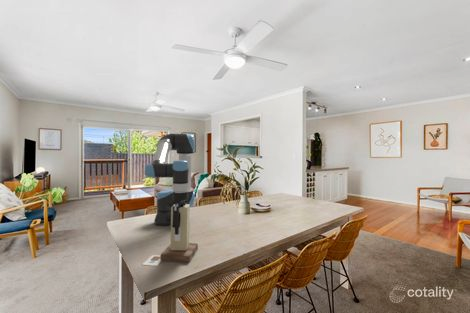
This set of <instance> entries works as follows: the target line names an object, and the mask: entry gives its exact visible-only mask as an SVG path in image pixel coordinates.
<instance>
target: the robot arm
mask: <svg viewBox="0 0 470 313" xmlns="http://www.w3.org/2000/svg"><path fill="white" fill-rule="evenodd" d="M195 144H196V143H195V136H194V135H193V134H190V133H169V134H168V133H167V134H165V135H163V136H162V137H161V138H159V140H158V141H157V142H156V150H155V154H154V155H153V158H152V162H150V163H146V164H145V167H144V175H145V177H146V178H149V179H150V178H152V179H155V178H157V179H159V178H172V185H171V187H172V189H165V190H160V191H158V193H157V196H156V197H157V198H156V214H155V217H154V225H156V226H160V227H161V226H162V227H166V226H171V207H172V206H173V205H174V204H175V206H173V224H172V227H173V228H174V241H180V213H179V208H180V207H184V206H185V205H186V204H189V205H190V208H192V207H193V206H194V203H195V197H196V191H195V190H194V188H193V187H192V155H193V154H194V151H196V145H195ZM171 151H176V154H177V155H178V159H177V160H173V161H172V163H168V162H167V161H168V158H169V153H170V152H171Z"/></svg>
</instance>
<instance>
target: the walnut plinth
mask: <svg viewBox="0 0 470 313" xmlns="http://www.w3.org/2000/svg"><path fill="white" fill-rule="evenodd" d="M198 245H199V244H198V243H194V242H193V243H192V242H191V243H190V242H189V246H188V248H187V250H171V243H170V244H169V245H168V246H167V247H166V248H165V249H164V250H163V251H162V252H161V254H160V255H159V256H160V260H161V262H173V263H188V264H189V263H191V261H192V260H193V257H194V256H195V254H196V253H197V251H198V250H199V248H198V247H199V246H198Z"/></svg>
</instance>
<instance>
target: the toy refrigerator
mask: <svg viewBox="0 0 470 313" xmlns="http://www.w3.org/2000/svg"><path fill="white" fill-rule="evenodd" d="M173 206H175V204H174V205H173ZM173 206H172V207H171V225H170V244H171V250H187V248H188V246H189V243H190V208H191V207H190V205H189V204H186V205H185V206H184V207H180V208H179V213H180V241H174V228H173V227H172V224H173Z"/></svg>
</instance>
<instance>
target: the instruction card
mask: <svg viewBox="0 0 470 313" xmlns="http://www.w3.org/2000/svg"><path fill="white" fill-rule="evenodd" d="M161 262H162V261H161V260H160V255H159V254H158V255H156V254H155V255H154V254H151V256H149V257H148V258H147V259H146V260H145V261H144V262H143V263H142V264H141V265H142V266H149V267H150V266H151V267H152V266H153V267H158V265H159V264H160V263H161Z"/></svg>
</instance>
